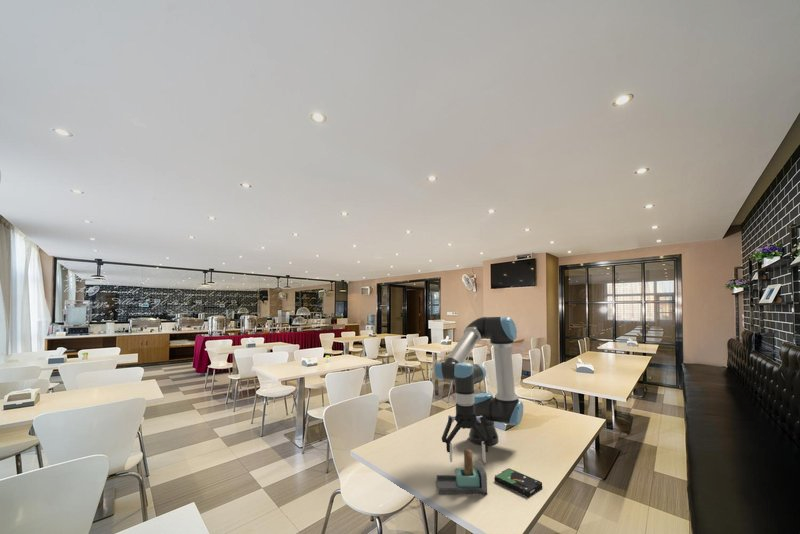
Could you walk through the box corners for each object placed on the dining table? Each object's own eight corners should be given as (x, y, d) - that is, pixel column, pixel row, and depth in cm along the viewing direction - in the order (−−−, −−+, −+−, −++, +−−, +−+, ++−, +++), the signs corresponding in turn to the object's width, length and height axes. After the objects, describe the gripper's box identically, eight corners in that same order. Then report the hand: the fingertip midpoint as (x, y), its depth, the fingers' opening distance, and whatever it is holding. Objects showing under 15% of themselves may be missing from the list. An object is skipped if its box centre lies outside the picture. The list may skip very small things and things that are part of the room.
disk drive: (543, 489, 121) (508, 474, 133) (542, 482, 122) (508, 467, 133) (528, 499, 115) (493, 482, 126) (528, 491, 115) (493, 475, 127)
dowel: (472, 482, 124) (471, 449, 126) (473, 486, 121) (472, 452, 123) (464, 481, 125) (463, 449, 126) (465, 486, 121) (464, 452, 123)
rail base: (481, 480, 127) (480, 461, 128) (487, 494, 117) (486, 474, 119) (436, 480, 128) (436, 461, 129) (438, 493, 118) (438, 473, 119)
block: (476, 479, 126) (475, 468, 127) (479, 488, 119) (479, 477, 120) (455, 479, 126) (455, 468, 127) (458, 488, 120) (458, 477, 120)
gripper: (493, 400, 131) (496, 456, 128) (434, 400, 131) (435, 456, 129) (498, 405, 123) (501, 465, 120) (435, 406, 124) (437, 465, 121)
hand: (467, 460), depth 124 cm, fingers open, 12 cm apart
